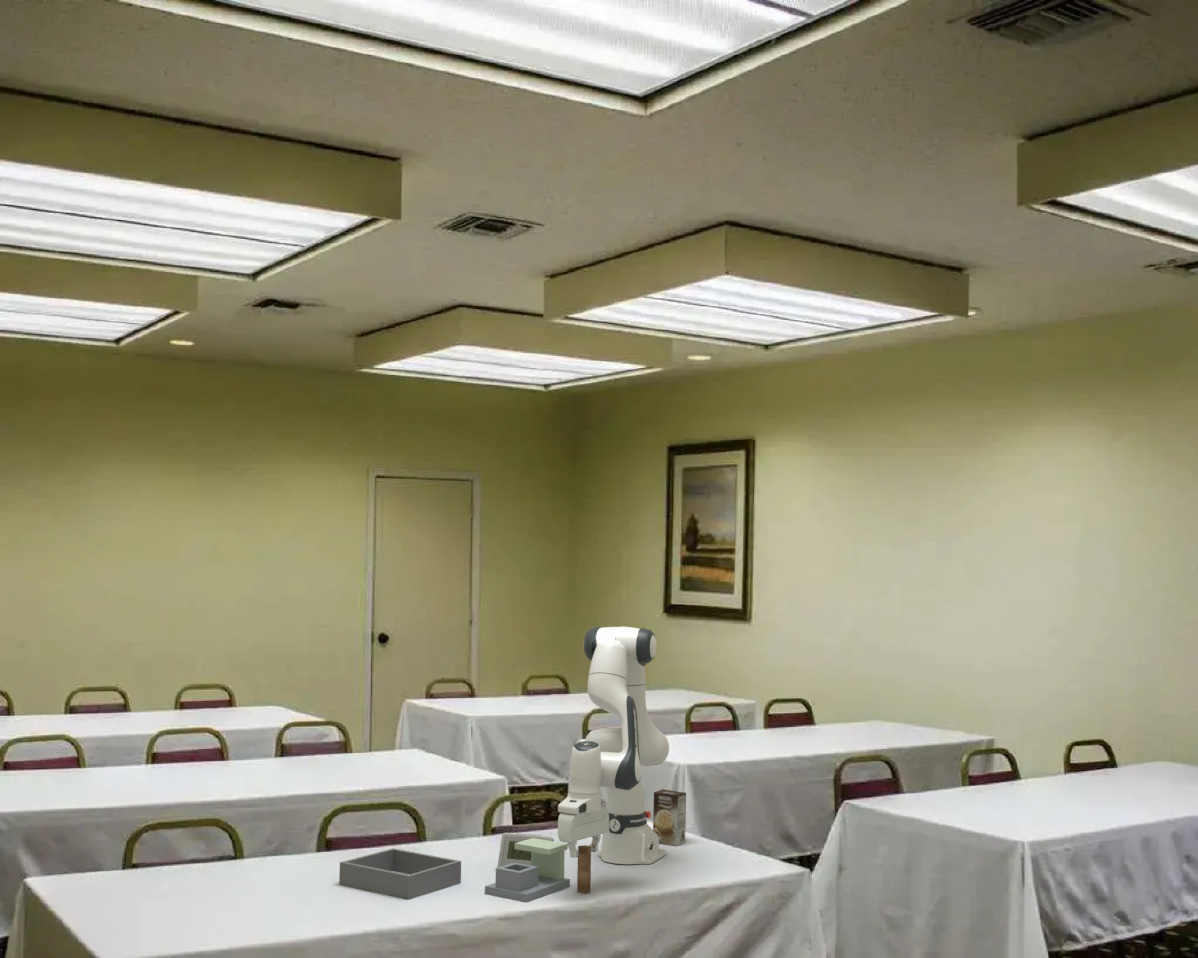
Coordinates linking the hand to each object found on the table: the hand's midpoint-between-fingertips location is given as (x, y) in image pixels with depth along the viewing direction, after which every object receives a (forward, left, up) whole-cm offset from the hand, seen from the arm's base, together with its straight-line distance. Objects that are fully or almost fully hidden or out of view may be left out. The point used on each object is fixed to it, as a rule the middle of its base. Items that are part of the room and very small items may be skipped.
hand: (584, 854), depth 350 cm
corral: (+23, -45, -10) cm, 52 cm away
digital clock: (-7, -25, -10) cm, 28 cm away
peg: (-1, 0, -10) cm, 10 cm away
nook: (+7, -13, -10) cm, 18 cm away
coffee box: (-67, -12, -10) cm, 68 cm away
